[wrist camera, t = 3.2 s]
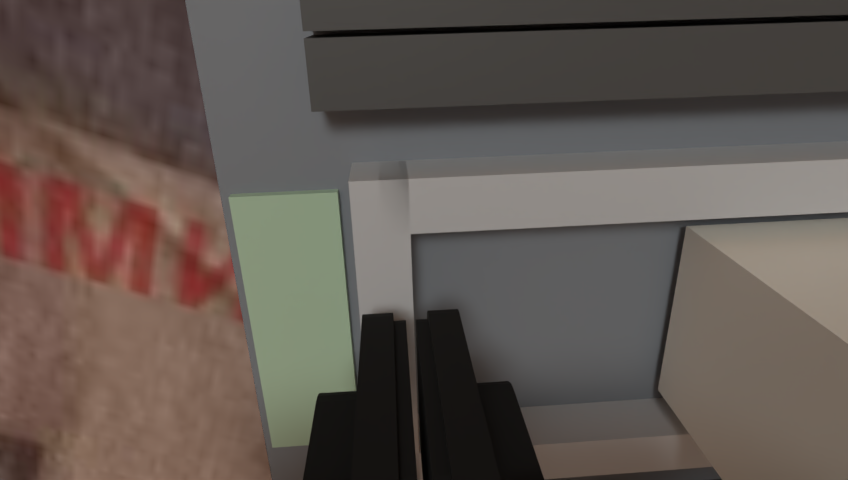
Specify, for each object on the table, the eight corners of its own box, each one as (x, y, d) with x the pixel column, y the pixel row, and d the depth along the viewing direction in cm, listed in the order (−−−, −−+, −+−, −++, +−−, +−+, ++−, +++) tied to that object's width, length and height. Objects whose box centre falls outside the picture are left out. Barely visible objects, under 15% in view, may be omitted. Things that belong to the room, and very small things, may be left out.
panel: (1262, -62, 12) (1555, -85, 9) (1005, 444, 17) (1133, 535, 14) (212, -37, 11) (146, -53, 8) (298, 497, 16) (279, 608, 13)
